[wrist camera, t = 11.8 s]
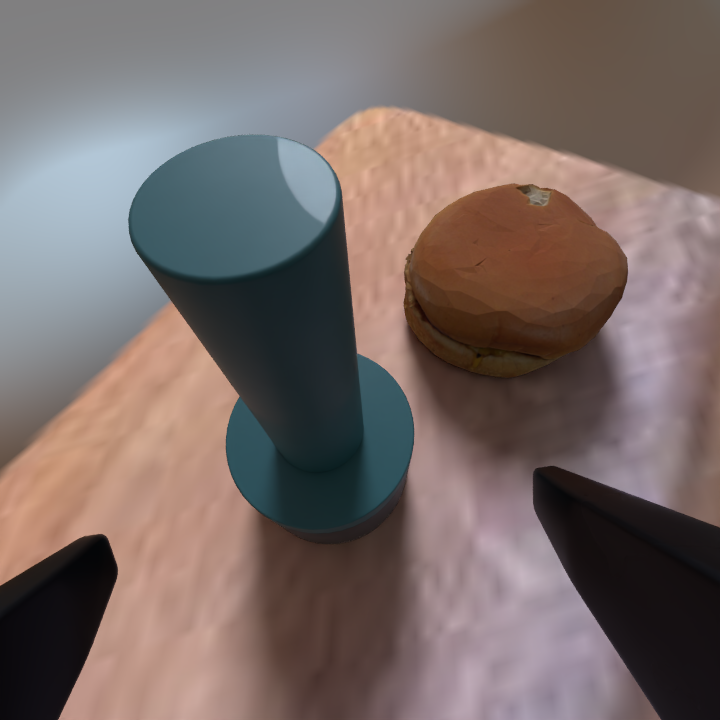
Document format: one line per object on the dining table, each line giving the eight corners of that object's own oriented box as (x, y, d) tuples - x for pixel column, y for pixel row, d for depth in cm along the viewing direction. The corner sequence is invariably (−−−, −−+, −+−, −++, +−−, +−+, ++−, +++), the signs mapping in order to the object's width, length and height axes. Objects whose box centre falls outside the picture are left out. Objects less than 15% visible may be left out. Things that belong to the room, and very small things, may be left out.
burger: (404, 381, 20) (411, 326, 16) (403, 238, 24) (408, 167, 20) (618, 386, 19) (683, 331, 15) (576, 239, 24) (617, 166, 20)
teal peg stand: (341, 581, 16) (211, 550, 4) (228, 475, 18) (-93, 231, 6) (436, 452, 18) (553, 164, 6) (326, 371, 20) (244, 37, 8)
